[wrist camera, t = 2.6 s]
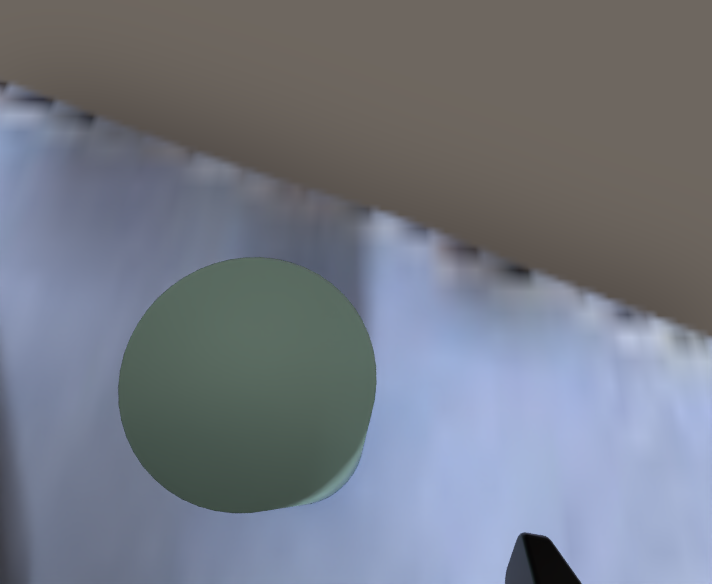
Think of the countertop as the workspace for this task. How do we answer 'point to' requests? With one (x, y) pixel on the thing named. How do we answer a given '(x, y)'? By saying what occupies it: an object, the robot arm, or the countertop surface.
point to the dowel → (249, 387)
